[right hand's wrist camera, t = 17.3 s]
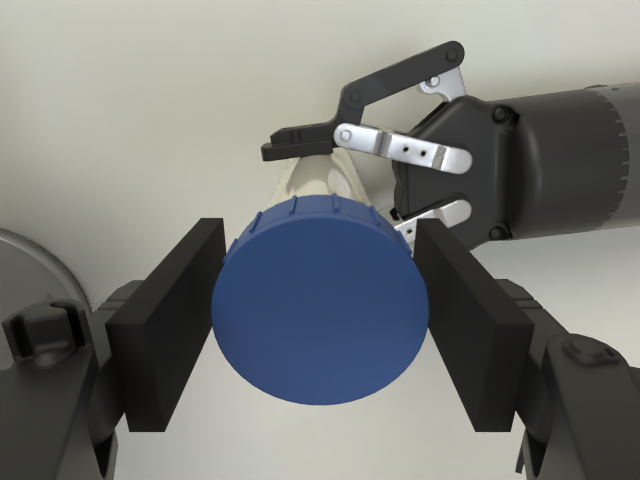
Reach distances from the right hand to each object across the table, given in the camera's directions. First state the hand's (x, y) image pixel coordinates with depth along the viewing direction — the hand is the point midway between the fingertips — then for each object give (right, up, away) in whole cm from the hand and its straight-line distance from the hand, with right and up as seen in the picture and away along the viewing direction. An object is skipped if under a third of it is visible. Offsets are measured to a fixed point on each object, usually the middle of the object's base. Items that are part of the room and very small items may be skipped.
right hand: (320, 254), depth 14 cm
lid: (0, -1, -4) cm, 4 cm away
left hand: (-3, +3, +8) cm, 9 cm away
